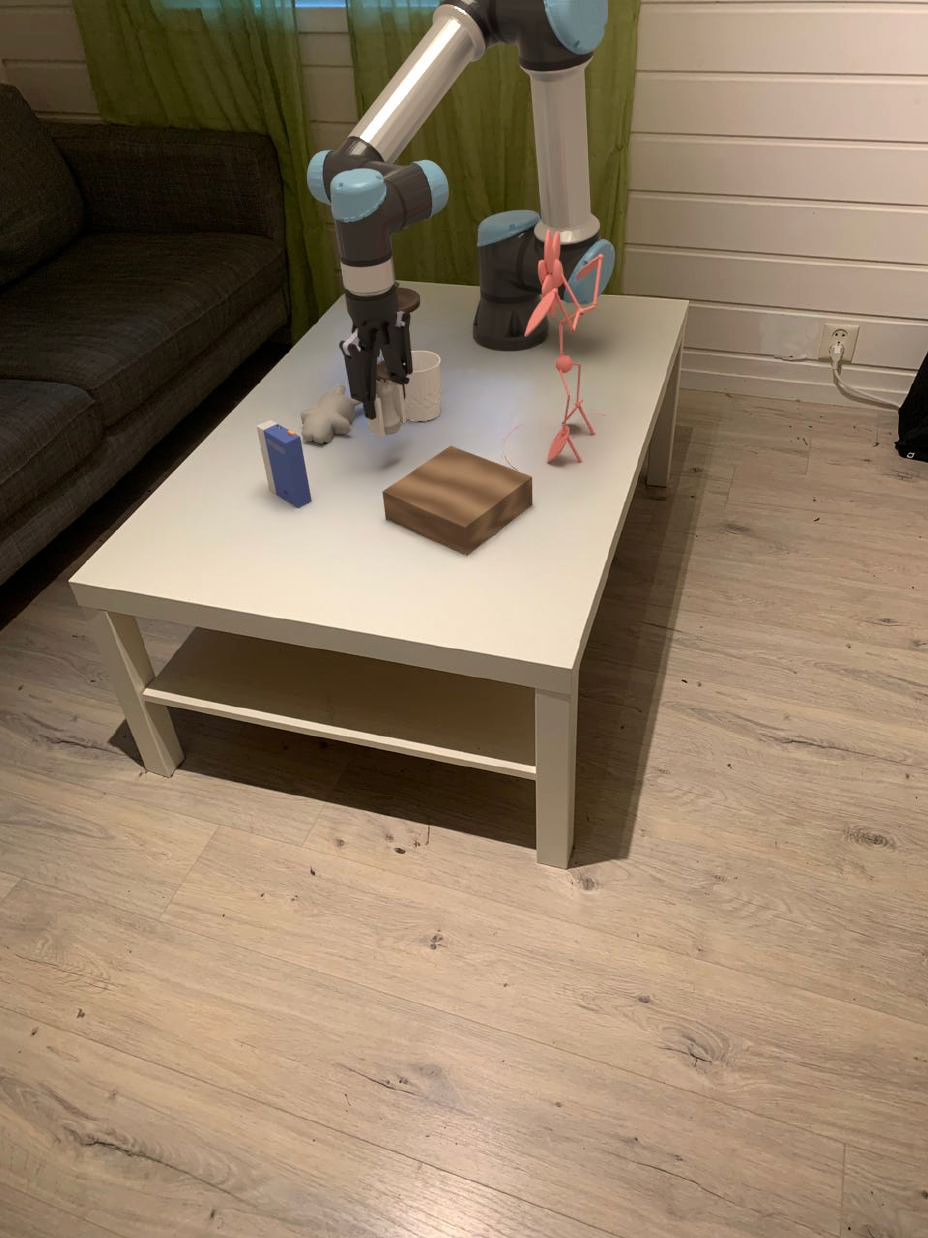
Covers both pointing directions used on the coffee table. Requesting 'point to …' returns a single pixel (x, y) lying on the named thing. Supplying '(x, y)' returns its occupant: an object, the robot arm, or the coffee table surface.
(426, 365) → the white cup
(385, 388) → the rook chess piece
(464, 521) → the walnut base
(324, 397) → the bunny figurine
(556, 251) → the figurine
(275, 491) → the walkman
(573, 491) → the coffee table surface
